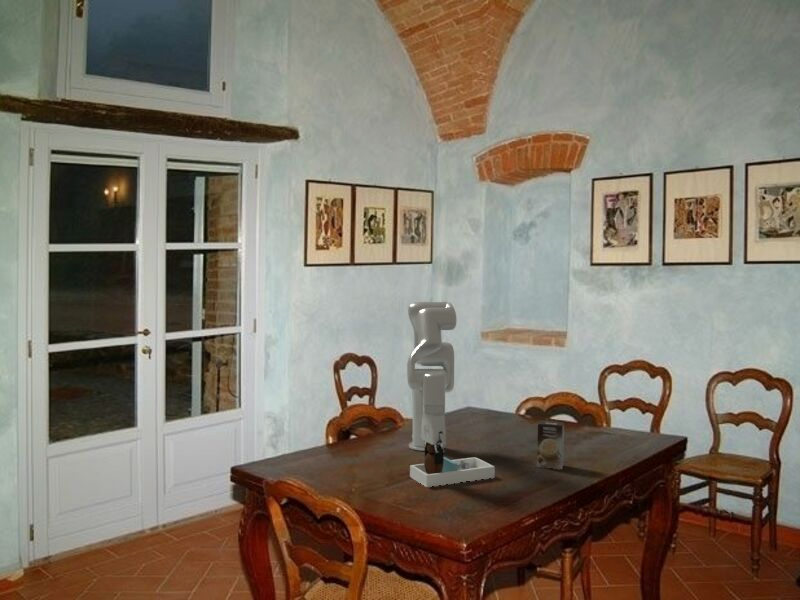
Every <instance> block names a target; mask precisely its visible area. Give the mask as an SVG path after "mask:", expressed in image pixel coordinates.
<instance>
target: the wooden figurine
mask: <svg viewBox="0 0 800 600" xmlns="http://www.w3.org/2000/svg"><path fill="white" fill-rule="evenodd" d="M437 443H440V442H437ZM437 446H438V447H439V446H440V445H437ZM427 451H428V452H429V453H427V455H426V456H425V455H424V460H423V464H424V467H425V470H426V472H427V474H435V473H441V471H442V468H443V464H437V465H436V464H434V453H435V452H436V451H435V446H434V445H432V444H430V443H428V445H427Z"/></svg>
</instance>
